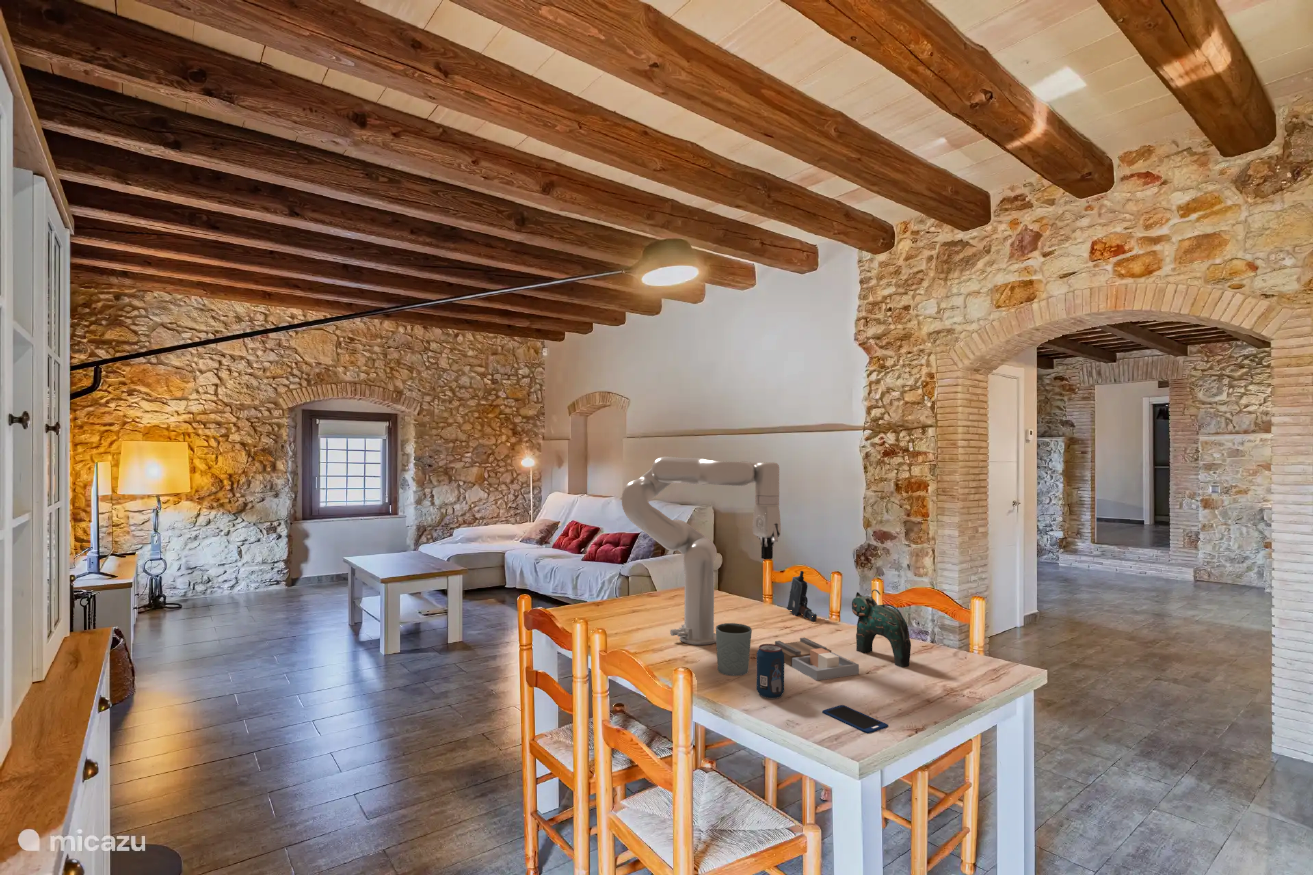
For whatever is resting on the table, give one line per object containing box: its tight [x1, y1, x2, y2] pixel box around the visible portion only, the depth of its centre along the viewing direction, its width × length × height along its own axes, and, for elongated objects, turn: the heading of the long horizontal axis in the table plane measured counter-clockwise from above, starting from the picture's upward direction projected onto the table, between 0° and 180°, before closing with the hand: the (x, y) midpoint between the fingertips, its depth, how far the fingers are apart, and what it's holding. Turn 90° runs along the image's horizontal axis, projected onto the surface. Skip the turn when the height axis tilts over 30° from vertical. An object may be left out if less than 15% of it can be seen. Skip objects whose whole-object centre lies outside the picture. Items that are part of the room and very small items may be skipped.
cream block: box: [818, 652, 840, 669], centre depth 184 cm, size 4×4×4 cm
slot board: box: [774, 637, 832, 668], centre depth 197 cm, size 14×11×4 cm
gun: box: [786, 570, 818, 623], centre depth 243 cm, size 3×17×15 cm
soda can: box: [755, 643, 785, 700], centre depth 168 cm, size 7×7×12 cm
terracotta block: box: [810, 648, 829, 667], centre depth 188 cm, size 4×4×4 cm
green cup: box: [715, 622, 753, 677], centre depth 185 cm, size 10×10×12 cm
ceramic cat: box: [851, 589, 912, 668], centre depth 198 cm, size 20×6×20 cm, turn 27°
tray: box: [791, 651, 860, 681], centre depth 186 cm, size 14×12×3 cm
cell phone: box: [821, 704, 889, 734], centre depth 153 cm, size 7×14×1 cm, turn 32°
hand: (767, 558), depth 210 cm, fingers closed
